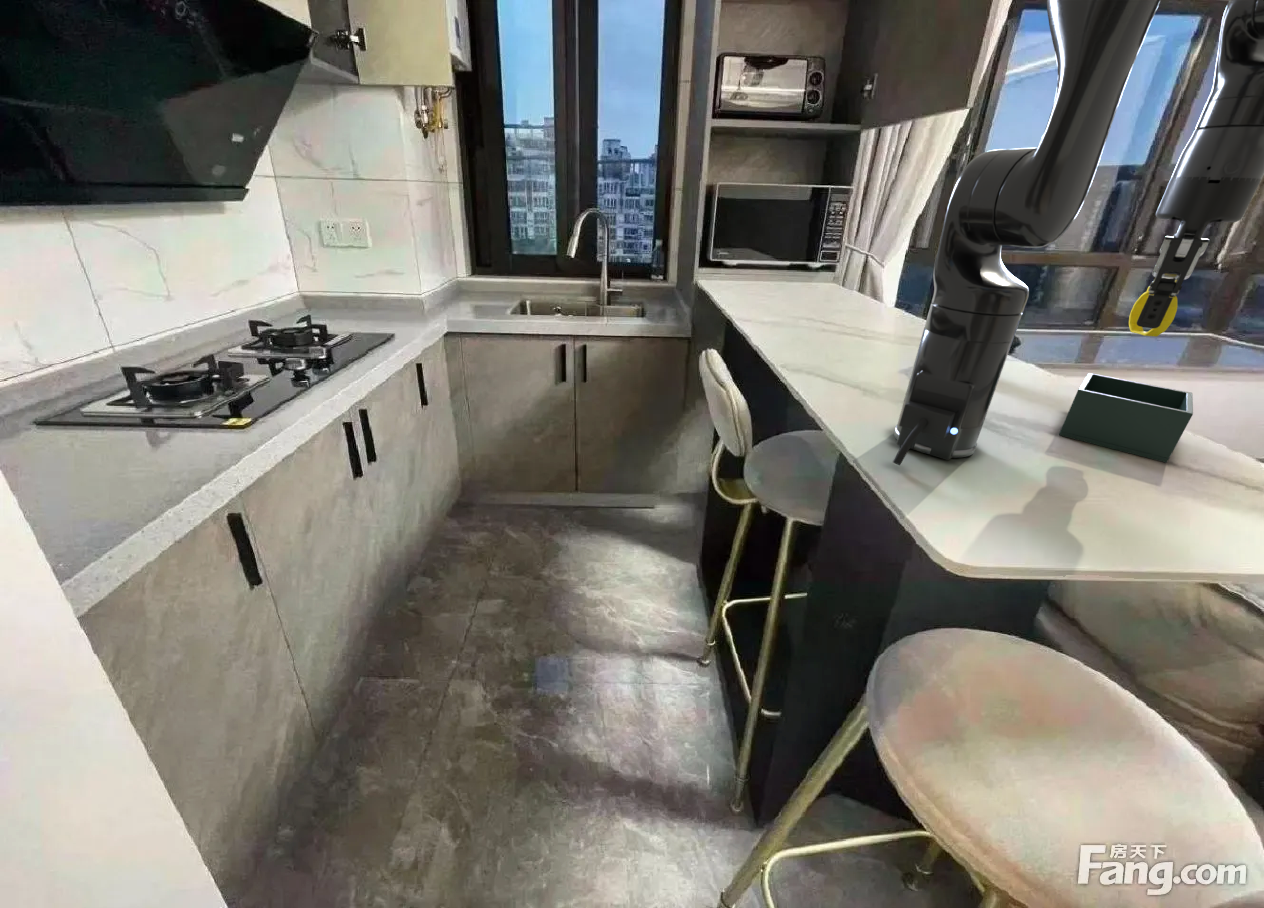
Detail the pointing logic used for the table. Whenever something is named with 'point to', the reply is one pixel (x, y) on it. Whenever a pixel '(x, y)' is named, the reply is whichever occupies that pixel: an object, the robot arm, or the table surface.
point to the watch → (1138, 309)
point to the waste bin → (1128, 416)
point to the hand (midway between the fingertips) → (1148, 322)
